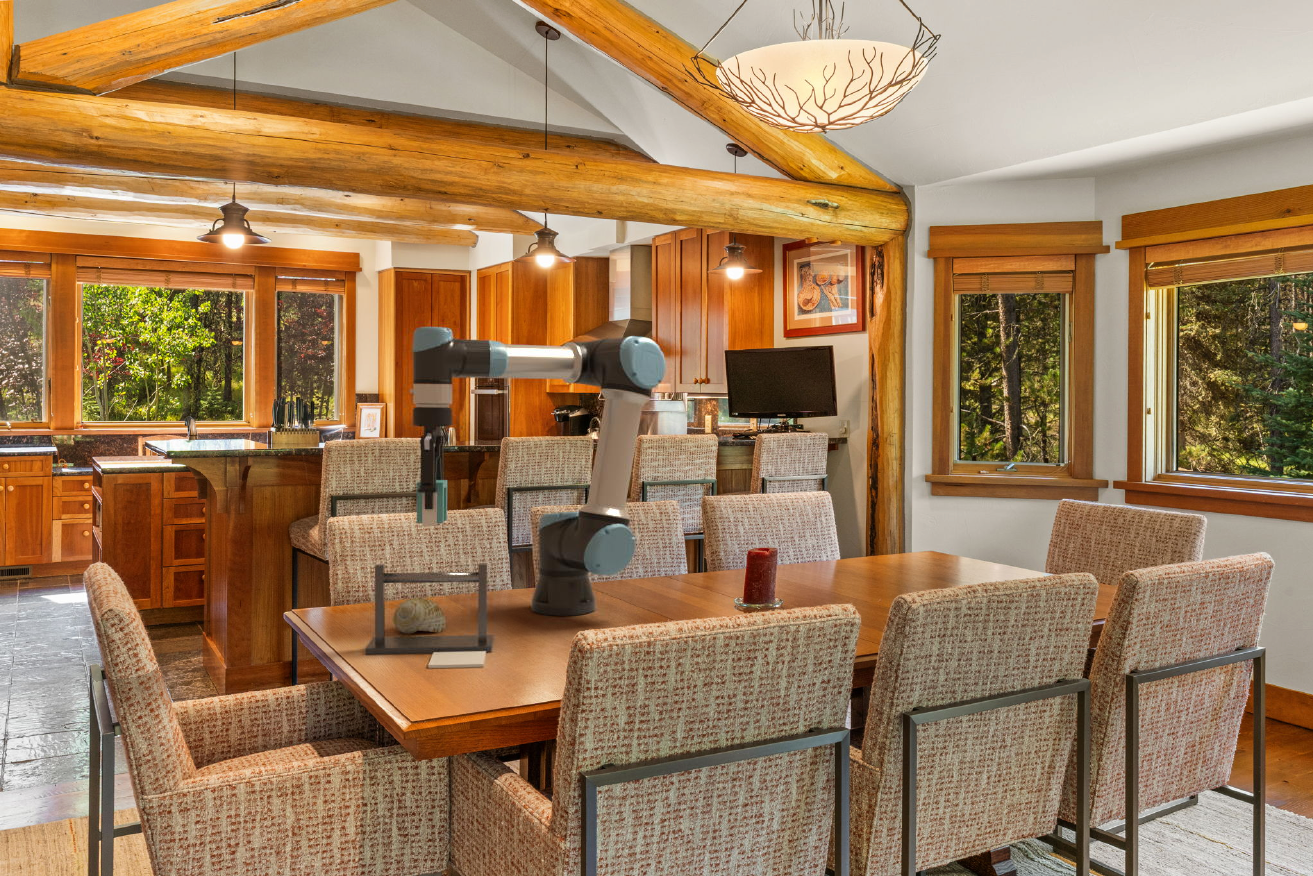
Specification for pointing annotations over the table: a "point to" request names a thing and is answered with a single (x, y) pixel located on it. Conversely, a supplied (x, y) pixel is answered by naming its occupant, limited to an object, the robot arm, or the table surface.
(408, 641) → the stand
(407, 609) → the seashell
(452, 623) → the table surface
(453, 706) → the table surface
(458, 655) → the mat
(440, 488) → the c link
